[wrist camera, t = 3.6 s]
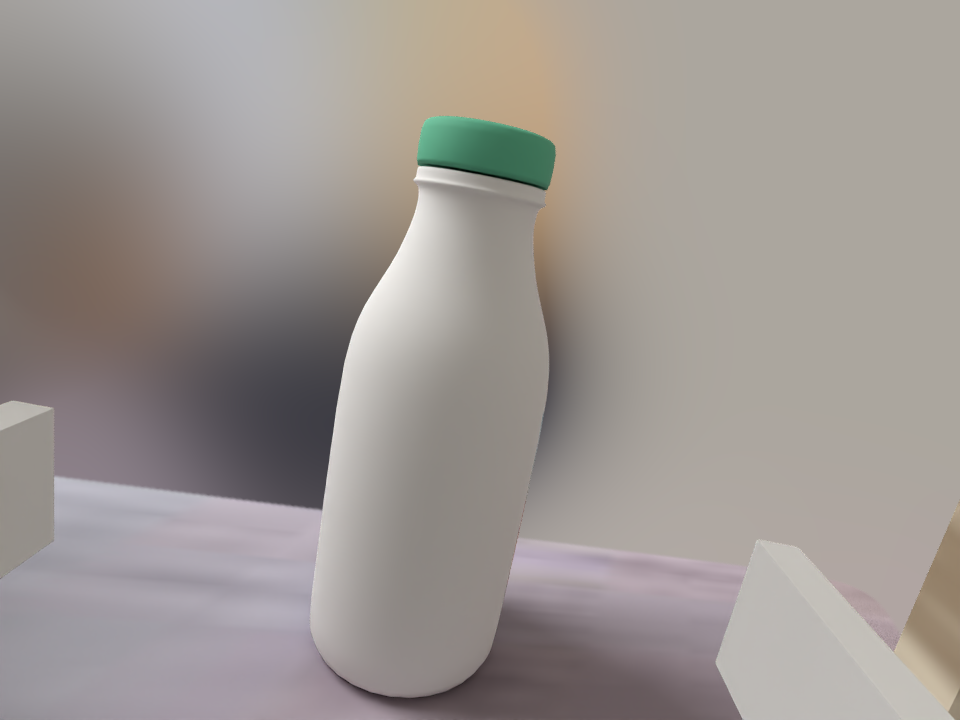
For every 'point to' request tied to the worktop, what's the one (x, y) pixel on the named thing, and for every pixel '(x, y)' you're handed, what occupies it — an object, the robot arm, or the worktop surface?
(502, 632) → the worktop surface
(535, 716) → the worktop surface
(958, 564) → the door frame
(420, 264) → the milk bottle
